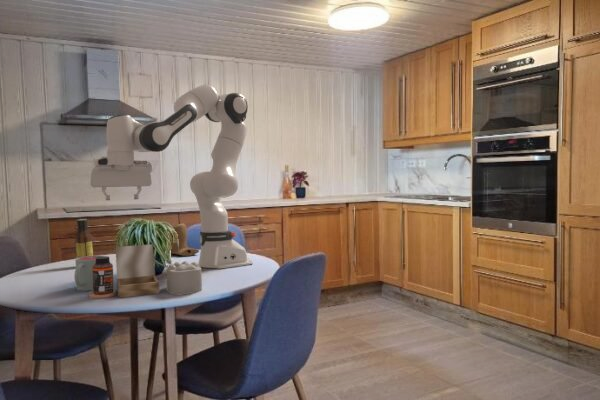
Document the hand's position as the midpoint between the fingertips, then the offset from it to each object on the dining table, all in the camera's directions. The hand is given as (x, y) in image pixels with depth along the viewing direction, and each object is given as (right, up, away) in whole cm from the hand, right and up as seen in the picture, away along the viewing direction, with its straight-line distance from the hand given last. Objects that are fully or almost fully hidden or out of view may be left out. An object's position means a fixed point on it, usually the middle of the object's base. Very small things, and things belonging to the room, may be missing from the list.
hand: (122, 199), depth 164 cm
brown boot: (+7, -26, +55) cm, 62 cm away
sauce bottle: (-27, -28, +30) cm, 49 cm away
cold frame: (+10, -30, -12) cm, 33 cm away
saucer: (+1, -30, -19) cm, 35 cm away
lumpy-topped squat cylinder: (+25, -30, -12) cm, 40 cm away
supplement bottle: (+1, -30, -19) cm, 35 cm away
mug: (-8, -30, -10) cm, 32 cm away
